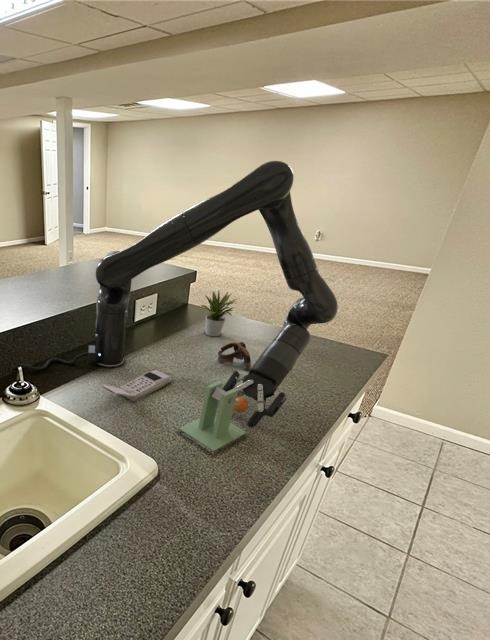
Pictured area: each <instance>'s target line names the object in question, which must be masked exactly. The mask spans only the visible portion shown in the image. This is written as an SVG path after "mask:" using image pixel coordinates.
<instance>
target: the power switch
mask: <svg viewBox="0 0 490 640" xmlns="http://www.w3.org/2000/svg"><path fill="white" fill-rule="evenodd" d="M223 384H224V382H223V381H221V380H217V381H215V382H212V383H211V384H209V385H206V388H205V393H204V398H203V402H202V408H201V412H200V417H199V418H197V419H194V420H193V421H191V422H189V423H187V424H183V425H182V426H181V427H179V428H178V429H179V430H180V431H181V432H183V433H184V434H186V435H188V436H189V437H191V438H192V439H193V440H195V441H197V442H198V443H200V444H201V445H203V446H205V447H206V448H208V449H209V450H211V451H212V452H215V451H217V450H220V449H221V448H222V447H224V446H227V445H228V444H230V443H232V442H234V441H235V440H237V439H239V438H240V437H242V436H244V435H246V434H247V433H248V432H247V431H246V430H245V429H242V428H240V427H239V426H237V425H235V424H234V423H232V422H231V421H232V417H233V413H234V405H235V401H236V397H237V393H238V390H237V389H235V388H236V387H234V388H233V389H232V390H229V391H227V392H225V393H223V394H222V396H221V400H220V402H219V400H217V399H216V398H214V397H212V394H213V393H214V391H215V389H216V387H218V388H220V389H222V390H223V386H224V385H223ZM237 398H238V397H237Z"/></svg>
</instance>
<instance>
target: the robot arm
mask: <svg viewBox="0 0 490 640" xmlns="http://www.w3.org/2000/svg"><path fill="white" fill-rule="evenodd" d="M294 177H295V176H294V171H293V169H292V167H291V166H290V165H289V164H288V163H286V162H284V161H281V160H270V161H267V162H264V163H262V164H260V165H259V166H258V167H256V168H255V169H254V170H252V171H251V172H250V173H248V174H247V175H245V176H244V177H243V178H241V179H239V180H238V181H237V182H235V183H234V184H232V185H231V186H229V187H228V188H226V189H225V190H223V191H221V192H219V193H217V194H215V195H212V196H210V197H209V198H206V199H204V200H202V201H199V202H198V203H195V204H194V205H192V206H190V207H188V208H187V209H184V210H183V211H181V212H179V213H177V214H176V215H174V216H172V217H171V218H169V219H167V220H166V221H164V222H162V223H161V224H160V225H158V226H157V227H156V228H154V229H153V230H152V231H150V232H149V233H148V234H147V235H146V236H144V237H143V238H142V239H140V240H139V241H137V242H136V243H134V244H132V245H130V246H129V247H127V248H124V249H122V250H113V251H110V252H108V253H107V254H105V255H104V256H103V257H101V259H100V260H99V262H98V263H97V265H96V268H95V279H96V282H97V283H98V285H99V290H98V294H97V298H96V312H95V328H94V341H93V342H94V343H93V345H92V344H91V345H90V344H89V345H88V348H87V349H88V350H87V351H85V352H82V353H79V354H78V355H76V356H74V358H73V359H72V360H69V361H68V360H64V359H62V358H59V357H53V358H50V359H48V360H47V361H46V362H45V364H43V366H39V367H37V366H32V365H29V364H26V363H19V364H20V366H22V367H21V368H25V369H29V370H33V371H42V370H45V369H47V367H48V366H49V364H50V363H52V362H59V363H62V364H65V365H73V364H74V363H75V362H76V361H77V360H78V359H79V358H82V357H85V356H87V358H88V359H87V360H88V362H93V364H94V365H95V366H99V367H103V368H118V367H120V366H122V365H123V363H124V361H125V360H124V359H125V349H126V348H125V346H126V345H125V344H126V333H127V323H128V312H129V311H128V309H129V304H130V303H129V302H130V297H131V291H132V290H131V289H132V280H133V279H134V278H136V277H137V276H139V275H140V274H142V273H143V272H145V271H147V270H149V269H151V268H153V267H155V266H158V265H160V264H162V263H165V262H167V261H170V260H171V259H173V258H175V257H177V256H180V255H182V254H185V253H186V252H188V251H190V250H193V248H195V247H198V246H199V245H201V244H203V243H205V242H206V241H208V240H209V239H211V238H213V237H214V236H215V235H217V234H219V233H220V232H221V231H222V230H224V229H225V228H227V227H228V226H229V225H231V224H232V223H234V222H236V221H238V220H240V219H241V218H243V217H245V216H247V215H250V214H251V213H254V212H256V211H259V213H260V214H261V216H262V218H263V220H264V223H265V224H266V227H267V229H268V231H269V234H270V237H271V240H272V243H273V246H274V250H275V252H276V256H277V259H278V262H279V266H280V269H281V271H282V274H283V276H284V277H283V278H284V279H285V282H286V284H287V287H288V289H290V290H292V291H295V292H299V294H300V295H301V296H302V297H300V298H298V299H297V300H295V301H294V303H293V304H292V305H291V306H290V307H289V310H288V312H287V314H286V317H285V319H284V321H283V324H282V327H281V329H280V330H279V331H278V333H277V334H276V335H275V336H274V338H273V339H272V341H271V342H270V343H269V344H268V345H267V346H266V347H265V349H264V350H263V352H262V353H261V355H259V357H258V359H256V361H255V362H254V364H253V365H252V366H251V368H250V370H249V371H248V373H247V374H245V375H243V374H241V373H239V372H238V371H237V370H234V371H233V372H232V374H231V375H230V377H229V378H228V379H227V381H226V383H225V384H224V385H223V386H222V390H224V391H226V392H227V391H229V390H232V389H234V388H235V389H237V390H238V393H237V397H236V398H243V397H244V396H245V397H248V398H251V399H253V400H254V401H255V402H257V410H255V411H254V412H253V414H252V415H251V417H250V418H249V419H248V421H247V422H246V425H247V426H249V427H250V428H252V427H255V426H257V425H258V424H259V422H260V421H261V419H262V418H263V417H264V416H266V417H269V418H273V417H275V415H276V414H277V413H278V411H279V410H280V409H281V408H282V406H283V405H284V403H285V402H286V401H287V396H286V394H285V393H284V391H281V392H280V391H278V390H277V389H278V388H279V387H280V385H281V384H282V382H283V381H284V380H285V378H286V377H287V375H288V374H289V373H290V372H291V371H292V370H293V368H294V366H295V364H296V362H297V360H298V358H299V357H300V355H301V354H302V353H303V351H304V350H305V349H306V347H307V346H308V344H309V343H310V341H311V338H312V336H311V333H310V331H309V330H308V328H309V327H310V326H311V325H318V324H319V325H320V324H327V323H329V322H332V321H333V320H334V319H335V317H336V316H337V314H338V308H339V305H338V300H337V297H336V296H335V293H334V292H333V290H332V289H331V287H330V286H329V285H328V283H327V282H326V280H325V279H324V278H323V277H322V276H321V274H320V273H319V268H318V265H317V263H316V260H315V256H314V254H313V252H312V250H311V246H310V244H309V242H308V241H307V239H306V236H305V234H304V233H303V231H302V228H301V226H300V224H299V222H298V219H297V216H296V214H295V213H296V212H295V210H294V206H293V202H292V201H293V200H292V195H291V190H292V189H293V188H292V187H293V184H294ZM17 367H18V366H16V367H14V366H13V367H12V368H11V370H16V369H18V368H19V367H18V368H17ZM241 381H242V383H241V384H240V385H237V384H238V383H240V382H241ZM236 385H237V386H236ZM271 397H273V399H274V400H273V401H272V402H271V403H270V405H269V406H268V408H267V399H269V398H271Z"/></svg>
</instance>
